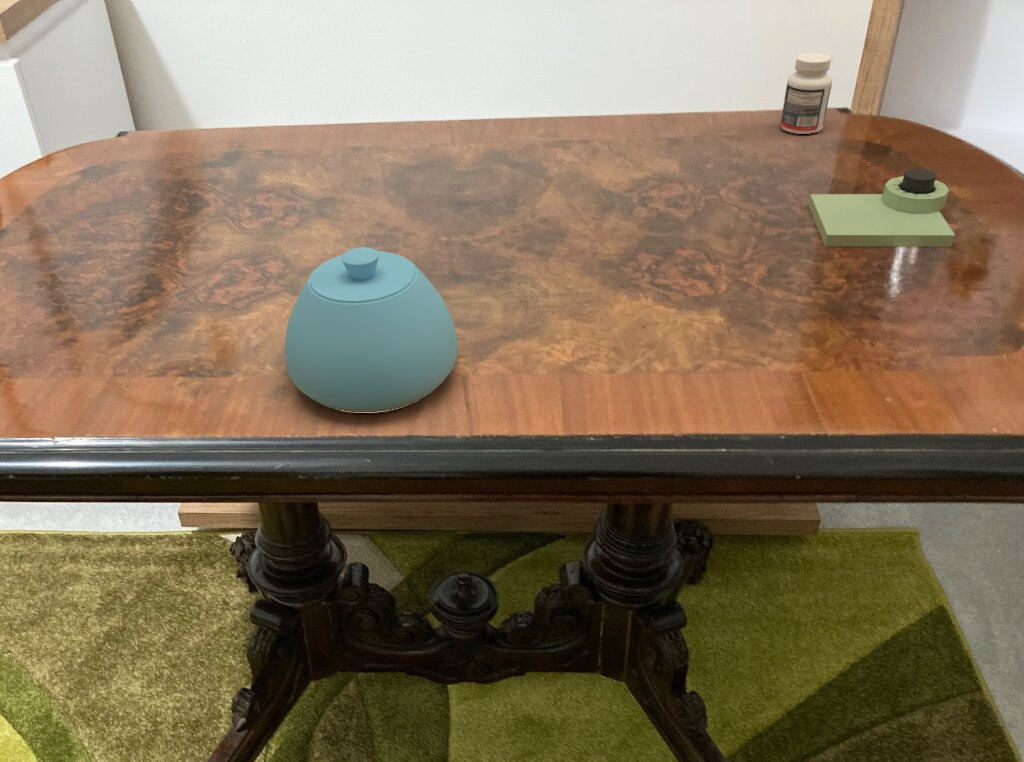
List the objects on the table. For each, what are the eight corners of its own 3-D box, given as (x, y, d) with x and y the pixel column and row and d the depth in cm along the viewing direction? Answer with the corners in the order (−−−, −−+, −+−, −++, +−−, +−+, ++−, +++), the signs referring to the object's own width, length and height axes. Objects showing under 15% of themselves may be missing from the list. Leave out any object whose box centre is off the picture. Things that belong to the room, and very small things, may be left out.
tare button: (927, 184, 97) (932, 168, 96) (935, 195, 95) (940, 179, 94) (897, 184, 98) (901, 168, 97) (904, 196, 96) (908, 179, 94)
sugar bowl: (270, 421, 77) (243, 299, 69) (311, 327, 88) (292, 214, 81) (448, 426, 74) (440, 300, 67) (467, 329, 86) (462, 213, 79)
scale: (931, 202, 100) (939, 175, 98) (961, 248, 91) (970, 219, 90) (806, 202, 102) (811, 176, 100) (824, 247, 94) (830, 219, 92)
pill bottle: (794, 118, 122) (807, 48, 117) (830, 127, 119) (845, 55, 113) (771, 129, 120) (783, 58, 114) (807, 138, 116) (821, 66, 111)
